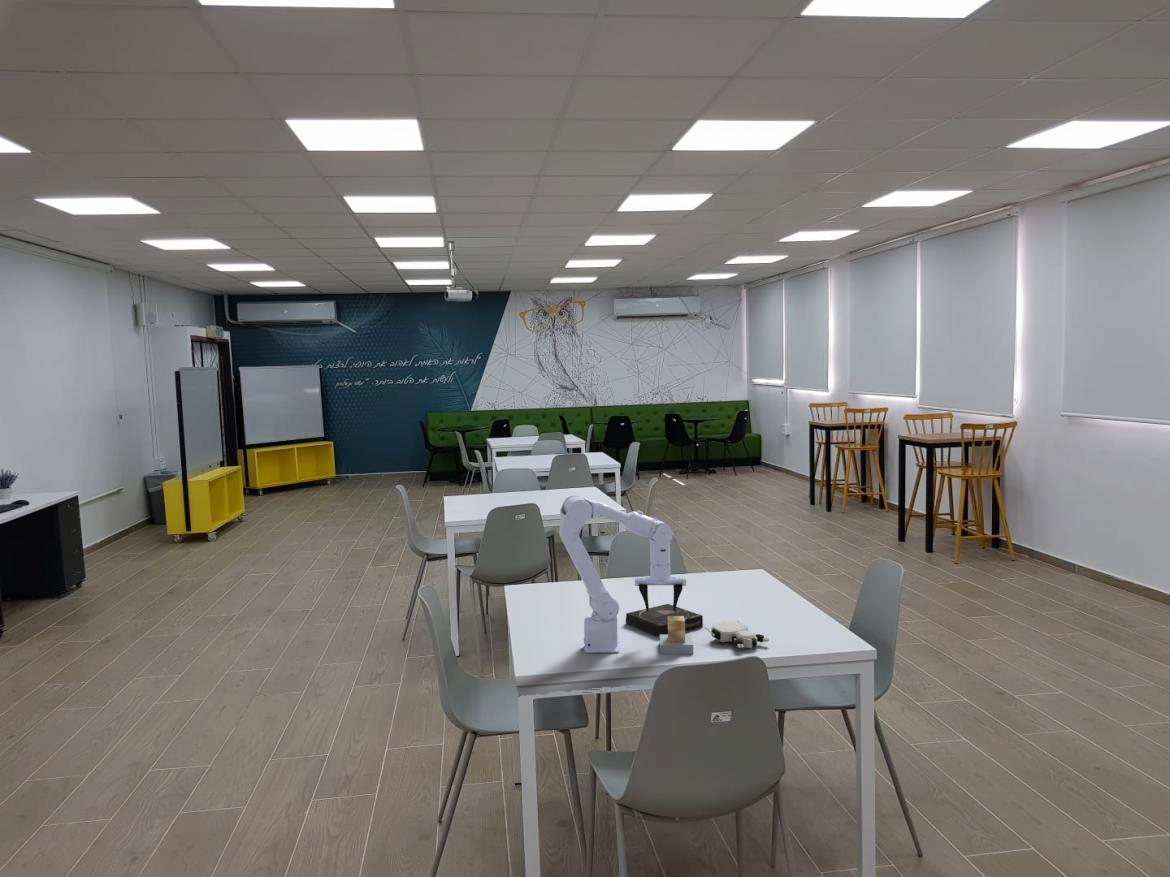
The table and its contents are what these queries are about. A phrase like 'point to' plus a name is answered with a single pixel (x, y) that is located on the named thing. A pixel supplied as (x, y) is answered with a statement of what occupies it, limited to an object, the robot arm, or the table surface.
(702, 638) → the table surface
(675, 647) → the slate base
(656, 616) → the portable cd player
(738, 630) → the robot toy
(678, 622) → the oak block
